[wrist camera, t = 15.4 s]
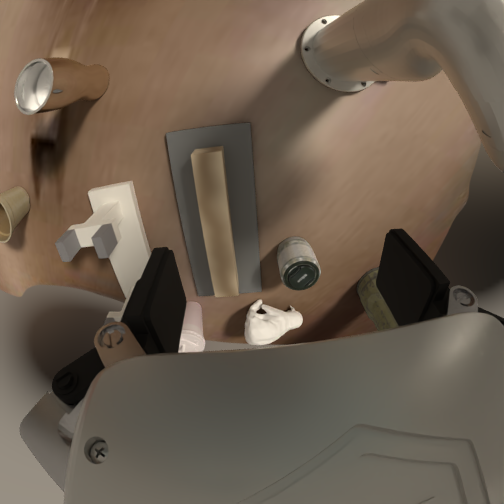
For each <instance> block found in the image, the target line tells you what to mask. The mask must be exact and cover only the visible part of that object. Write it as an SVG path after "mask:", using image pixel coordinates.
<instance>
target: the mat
mask: <svg viewBox="0 0 504 504" xmlns="http://www.w3.org/2000/svg"><path fill="white" fill-rule="evenodd" d="M166 138H167V144H168V151H169V157H170V163H171V169H172V175H173V181H174V186H175V192H176V197H177V202H178V208H179V213H180V218H181V223H182V227H183V232H184V237H185V241H186V246H187V251H188V255H189V259H190V264H191V268H192V272H193V276H194V280H195V284H196V288H197V292H198V296H210V295H215V293H214V288H213V283H212V278H211V273H210V268H209V263H208V258H207V252H206V247H205V241H204V236H203V230H202V224H201V218H200V212H199V206H198V200H197V194H196V187H195V181H194V174H193V167H192V160H191V154H192V153H193V152H194V150H195V149H201V148H209V147H218V146H223V149H224V159H225V168H226V178H227V187H228V196H229V205H230V214H231V223H232V231H233V240H234V248H235V257H236V265H237V273H238V281H239V293H251V292H262V289H261V273H260V257H259V241H258V226H257V211H256V196H255V182H254V167H253V153H252V139H251V126H250V123H238V124H227V125H218V126H209V127H201V128H194V129H187V130H181V131H174V132H169V133H166Z"/></svg>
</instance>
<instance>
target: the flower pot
mask: <svg viewBox="0 0 504 504" xmlns="http://www.w3.org/2000/svg"><path fill="white" fill-rule="evenodd" d="M29 209H30V204H29V196H28V194H27V192H26V191H25V190H24V189H23V188H22V187H14V188H12V189H10V190H8V191H6V192H3V193H1V194H0V243H6V242H8V241H9V239H10V238H11V235H12V233H13V231H14V229H15V227H16V226H17V225H18V223H19V222H20V221H21V220H22V219H23V217H24V216H25V215H26V214H27V213H28V211H29Z"/></svg>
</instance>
